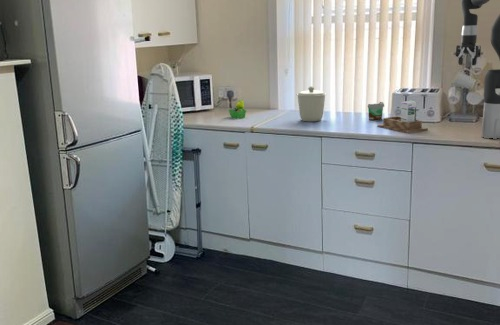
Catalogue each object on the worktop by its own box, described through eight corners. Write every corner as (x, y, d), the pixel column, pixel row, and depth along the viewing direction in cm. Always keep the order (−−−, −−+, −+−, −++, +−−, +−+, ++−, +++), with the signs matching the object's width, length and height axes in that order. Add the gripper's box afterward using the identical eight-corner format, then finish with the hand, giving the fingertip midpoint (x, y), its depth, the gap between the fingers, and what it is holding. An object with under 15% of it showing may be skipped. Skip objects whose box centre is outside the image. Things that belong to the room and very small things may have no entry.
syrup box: (406, 129, 274) (407, 102, 270) (400, 127, 279) (401, 101, 275) (415, 128, 275) (417, 101, 272) (409, 126, 281) (410, 100, 277)
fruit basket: (228, 117, 338) (227, 100, 335) (238, 115, 343) (238, 99, 340) (237, 119, 329) (237, 102, 326) (248, 117, 334) (248, 100, 331)
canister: (305, 124, 304) (305, 88, 298) (291, 119, 320) (291, 86, 315) (331, 121, 310) (331, 86, 305) (317, 117, 326) (316, 84, 321)
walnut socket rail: (427, 130, 274) (428, 121, 273) (408, 133, 268) (408, 124, 266) (396, 123, 295) (396, 115, 293) (377, 126, 288) (377, 117, 287)
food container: (375, 121, 304) (376, 105, 301) (367, 120, 308) (367, 104, 306) (388, 118, 311) (388, 102, 309) (379, 117, 316) (380, 101, 313)
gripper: (485, 34, 267) (483, 65, 272) (463, 34, 280) (461, 64, 284) (475, 34, 264) (473, 66, 268) (453, 34, 276) (451, 64, 280)
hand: (467, 65), depth 276 cm, fingers open, 8 cm apart
